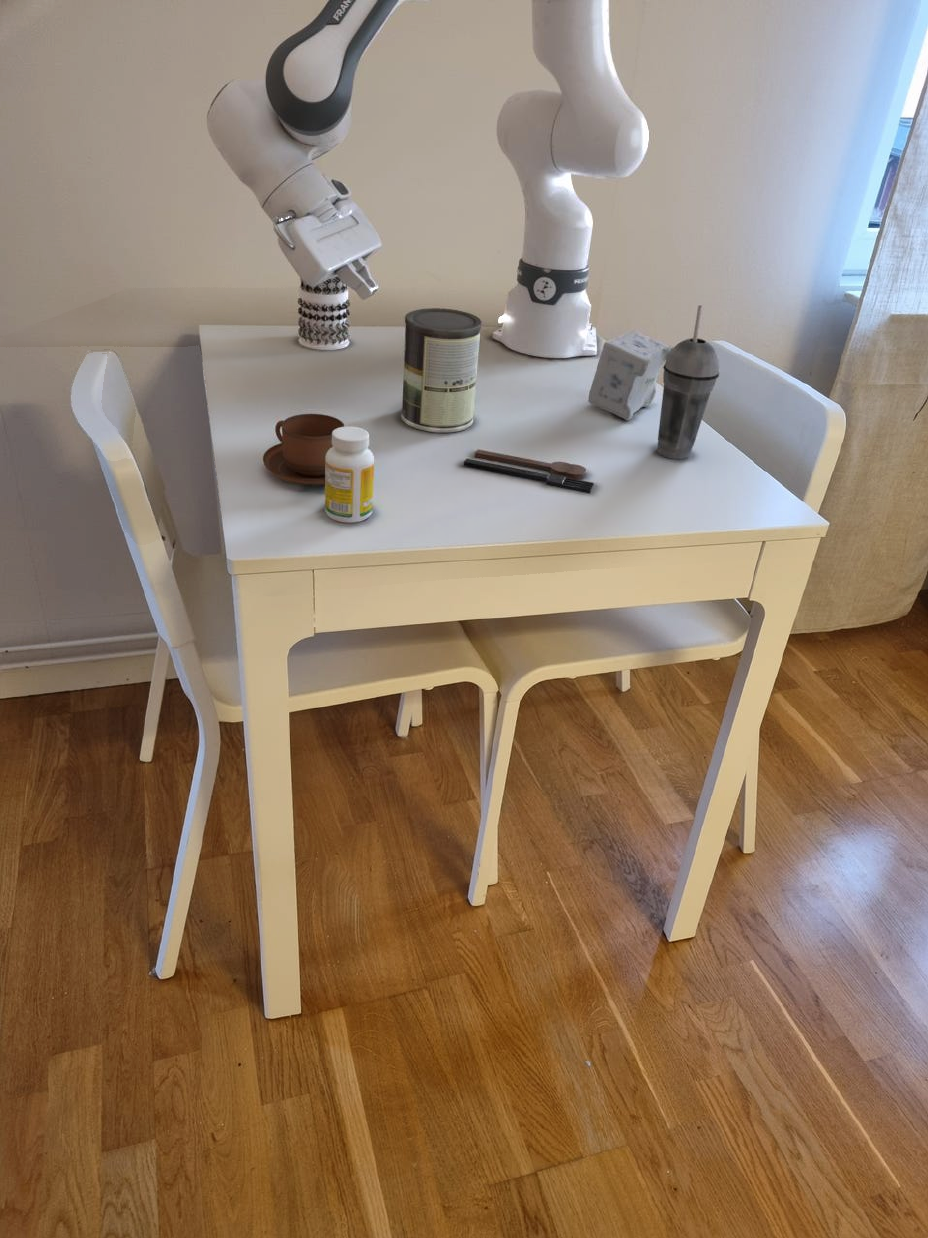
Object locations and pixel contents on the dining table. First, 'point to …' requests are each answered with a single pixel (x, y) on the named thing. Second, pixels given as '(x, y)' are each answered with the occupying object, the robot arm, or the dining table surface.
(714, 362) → the beverage cup
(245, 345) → the dining table surface
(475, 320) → the coffee can
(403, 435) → the dining table surface
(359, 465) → the supplement bottle
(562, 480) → the fork
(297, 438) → the cup and saucer
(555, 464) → the spoon
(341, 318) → the decorative candle
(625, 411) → the incense holder
